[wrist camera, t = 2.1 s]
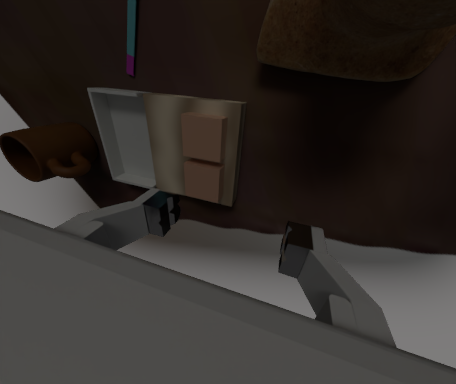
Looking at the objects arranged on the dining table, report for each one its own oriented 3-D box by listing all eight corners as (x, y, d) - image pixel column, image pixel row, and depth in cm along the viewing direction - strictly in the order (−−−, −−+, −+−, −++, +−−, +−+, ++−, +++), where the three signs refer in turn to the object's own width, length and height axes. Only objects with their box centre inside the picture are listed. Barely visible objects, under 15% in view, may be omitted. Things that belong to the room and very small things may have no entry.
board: (246, 102, 23) (241, 104, 21) (236, 198, 30) (231, 206, 28) (154, 92, 26) (142, 93, 24) (165, 182, 33) (156, 188, 31)
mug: (118, 137, 31) (59, 154, 24) (121, 175, 36) (72, 200, 28) (61, 115, 33) (-12, 124, 25) (70, 154, 37) (10, 172, 29)
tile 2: (224, 164, 25) (219, 170, 23) (222, 196, 27) (218, 203, 26) (190, 158, 26) (183, 163, 24) (192, 189, 29) (185, 195, 27)
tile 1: (227, 116, 22) (222, 119, 20) (225, 157, 24) (219, 162, 23) (189, 112, 23) (180, 113, 21) (190, 151, 25) (183, 155, 24)
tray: (151, 92, 26) (136, 93, 23) (163, 181, 33) (152, 189, 30) (105, 87, 28) (86, 87, 25) (125, 173, 35) (112, 179, 32)
